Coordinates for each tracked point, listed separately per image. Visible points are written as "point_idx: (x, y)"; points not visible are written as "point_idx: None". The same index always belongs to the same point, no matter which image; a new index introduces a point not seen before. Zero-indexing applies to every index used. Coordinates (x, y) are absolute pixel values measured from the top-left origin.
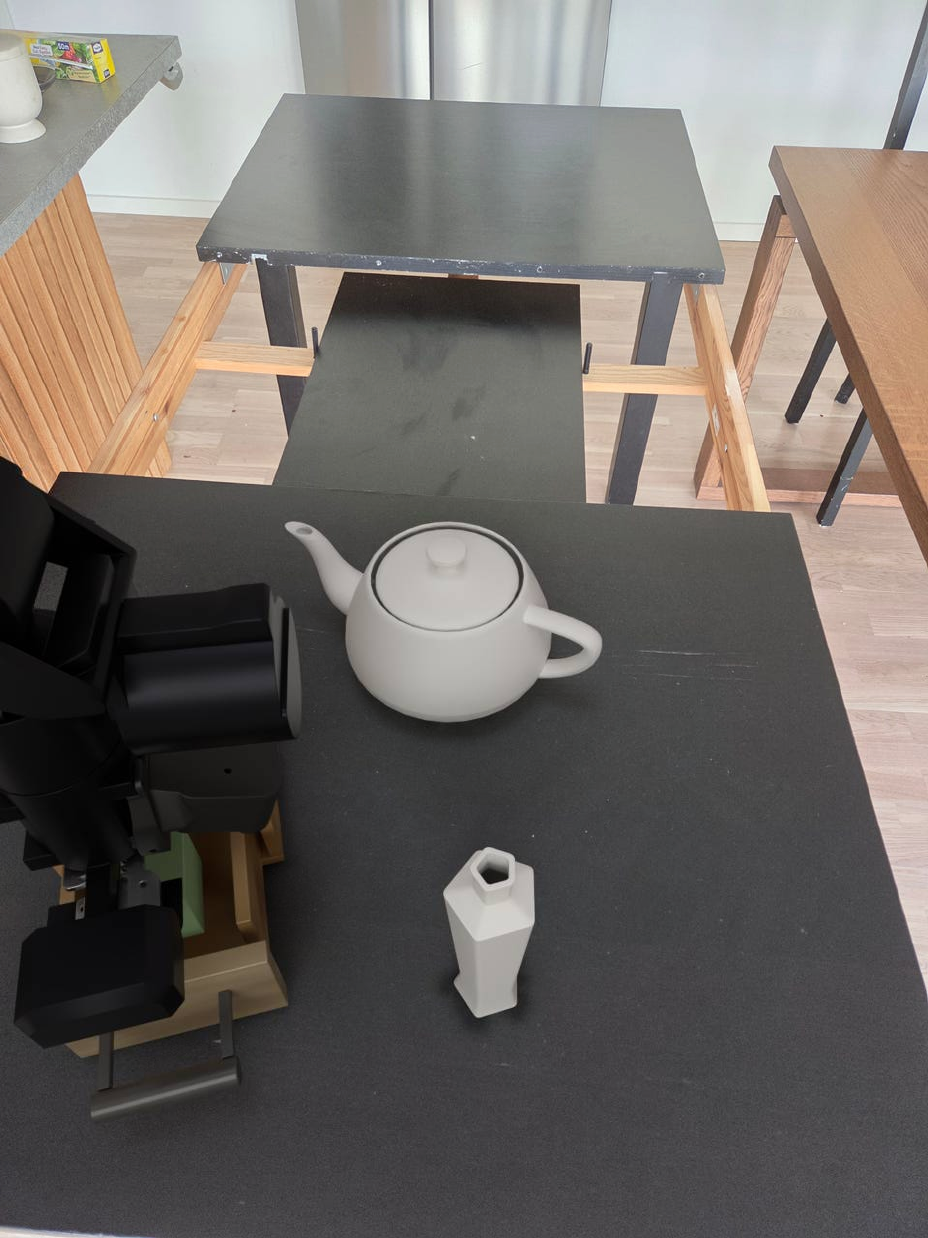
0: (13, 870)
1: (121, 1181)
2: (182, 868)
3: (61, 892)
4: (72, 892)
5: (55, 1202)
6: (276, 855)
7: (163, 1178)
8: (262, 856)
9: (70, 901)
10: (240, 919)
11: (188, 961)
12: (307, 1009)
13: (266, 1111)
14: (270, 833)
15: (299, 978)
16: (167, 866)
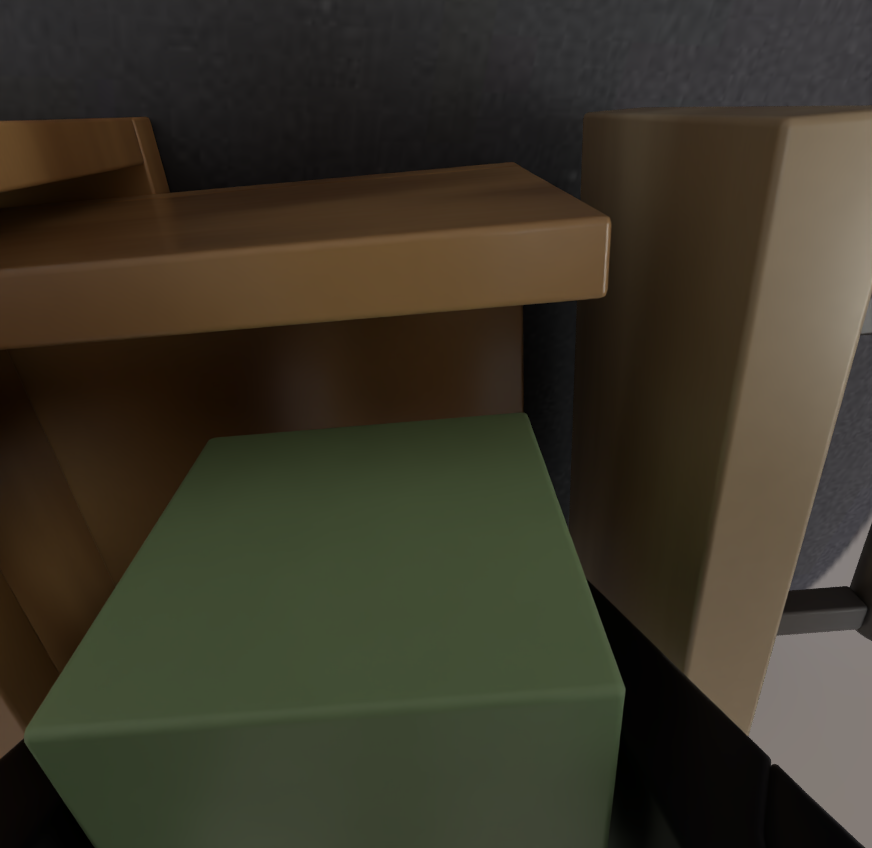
0: None
1: (830, 474)
2: (389, 717)
3: None
4: None
5: (808, 564)
6: (135, 140)
7: (865, 405)
8: (141, 192)
9: None
10: (595, 275)
11: (728, 500)
12: (640, 51)
13: None
14: (45, 139)
15: (542, 76)
16: (360, 780)
